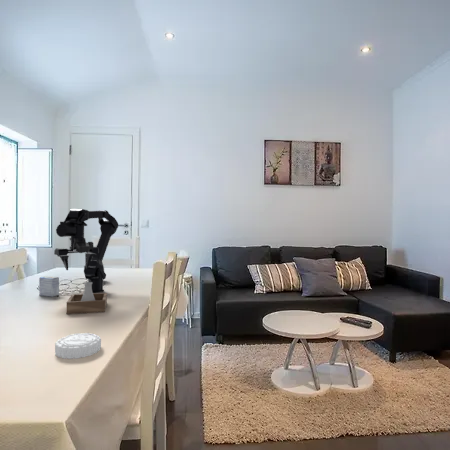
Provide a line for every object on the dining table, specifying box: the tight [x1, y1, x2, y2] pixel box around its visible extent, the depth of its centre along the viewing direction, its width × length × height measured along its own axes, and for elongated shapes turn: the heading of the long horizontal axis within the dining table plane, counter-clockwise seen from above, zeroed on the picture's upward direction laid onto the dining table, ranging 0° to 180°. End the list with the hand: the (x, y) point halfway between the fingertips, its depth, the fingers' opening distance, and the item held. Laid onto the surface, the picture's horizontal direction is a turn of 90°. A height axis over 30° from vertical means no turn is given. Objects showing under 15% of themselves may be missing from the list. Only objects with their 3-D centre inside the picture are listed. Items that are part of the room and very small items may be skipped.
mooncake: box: [54, 332, 102, 360], centre depth 97 cm, size 12×12×4 cm
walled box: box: [65, 292, 108, 315], centre depth 141 cm, size 14×14×5 cm
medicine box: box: [38, 275, 60, 298], centre depth 163 cm, size 8×4×9 cm, turn 71°
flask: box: [81, 281, 95, 301], centre depth 141 cm, size 7×7×10 cm
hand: (77, 269), depth 160 cm, fingers open, 9 cm apart
